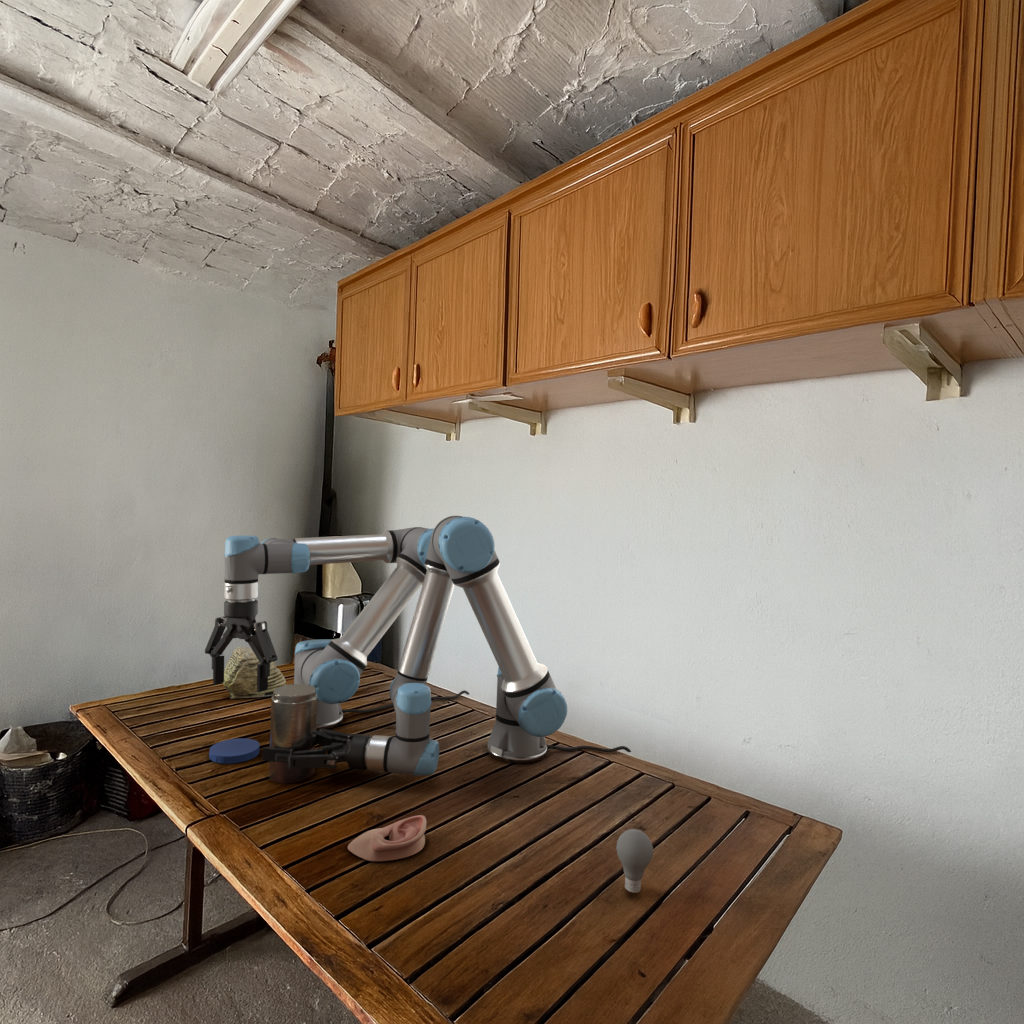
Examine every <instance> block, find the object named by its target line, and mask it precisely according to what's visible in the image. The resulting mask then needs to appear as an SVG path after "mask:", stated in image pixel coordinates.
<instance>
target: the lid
mask: <svg viewBox="0 0 1024 1024" xmlns="http://www.w3.org/2000/svg"><path fill="white" fill-rule="evenodd" d="M260 753H261V745H260V742H259V741H258V740H256V739H252V738H243V737H242V738H240V737H239V738H229V739H224V740H222V741H219V742H216V743H214V744H213V745H212V746H210V747H209V752H208V758H209V760H211V761H212V762H214V763H217V764H224V765H225V764H226V765H227V764H228V765H229V764H238V763H244V762H247V761H249V760H253V759H255V758H256V757H257V756H258V755H259V754H260Z"/></svg>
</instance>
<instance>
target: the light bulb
mask: <svg viewBox="0 0 1024 1024" xmlns="http://www.w3.org/2000/svg"><path fill="white" fill-rule="evenodd" d="M615 849H616V854H617V857H618V859H619V861H620V863H621V865H622V867H623V873H624V874H623V875H624V876H625V878H624V888H625V890H627V891H628V892H630V893H634V894H635V893H639V892H640V891H641V889H642V887H641V886H642V879H643V877H644V875H645V871H646V868H647V867H648V866H649V864H650V863H651V861H652V859H653V855H654V847H653V843H652V841H651V838H649V836H648V835H647V834H646V833H645V832H643V831H642V830H641V829H636V828H629V829H627V830H625V831H623V832H622V833H621V834H620V835H619V837H618V839H617V841H616V847H615Z"/></svg>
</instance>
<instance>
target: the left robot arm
mask: <svg viewBox="0 0 1024 1024" xmlns="http://www.w3.org/2000/svg"><path fill="white" fill-rule="evenodd" d="M433 530H434V528H426V527H422V526H414V527H407V528H401V529H400V528H399V529H392V530H391V529H390V530H383V532H382V533H380V534H359V535H356V534H355V535H340V536H339V535H337V536H336V535H335V536H317V537H295V538H277V537H272V538H271V537H270V538H267V539H263V540H262V541H261V542H260V540H259V537H258V536H257V535H245V534H244V535H241V534H240V535H230V536H228V537H227V538H226V539H225V543H224V544H225V545H224V547H225V548H224V554H223V557H224V558H223V559H224V568H223V569H224V583H223V584H224V589H223V590H224V591H223V593H224V597H223V598H224V599H225V601H224V602H223V616H219V617H215V619H214V627H213V629H212V631H211V635H210V637H209V639H208V642H207V643H206V646H205V648H204V653H205V654H206V655H209V656H210V657H211V670H212V685H213V686H217V685H219V684H223V682H224V672H225V655H223V654H224V652H225V650H226V648H227V647H228V646H229V645H230V643H231V642H232V640H233V639H239V640H244V642H246V643H248V645H249V648H250V649H252V650H253V652H254V654H255V655H256V657H257V659H258V660H259V662H260V664H258V665H257V692H262V691H264V690H267V689H268V677H269V676H270V663H271V662H274V663H275V662H277V661H278V655H277V652H276V649H275V647H274V644H273V641H272V639H271V635H270V633H269V631H268V622H267V621H266V620H263V621H259V622H258V621H257V620H256V618H257V616H258V613H259V601H258V600H257V598H259V575H271V574H272V575H275V574H293V575H295V574H298V573H299V574H300V573H306V572H307V571H309V568H310V566H314V565H315V566H316V565H328V564H329V565H331V564H346V563H361V562H362V563H363V562H375V561H383V563H385V564H396V567H395V568H394V569H393V571H392V572H391V573H390V575H389V576H388V577H387V579H386V580H384V582H383V583H382V584H381V586H380V587H379V589H378V590H376V592H375V593H374V595H373V596H372V597H371V599H370V600H369V601H368V603H367V604H366V605H365V606H364V607H363V609H362V610H361V611H360V613H359V614H358V615H357V617H356V618H355V619H354V620H353V621H352V623H351V624H350V625H349V627H348V628H347V629H346V630H345V632H344V633H343V634H342V635H341V636H340V637H339V638H333V639H331V638H329V639H328V638H326V639H325V638H324V639H307V640H302V641H299V642H297V644H295V650H294V672H293V673H294V674H293V684H306V685H311V686H313V687H315V688H316V694H317V720H316V731H319V730H320V729H327V730H332V729H335V728H337V727H339V726H340V725H342V723H343V722H344V713H355V714H356V713H358V714H365V713H372V712H377V711H381V710H384V709H388V708H392V707H394V705H393V702H392V703H389V704H385V705H381V706H377V707H373V708H366V709H357V708H354V709H353V708H352V709H350V708H349V709H347V708H344V709H343V708H342V706H341V704H342V703H344V702H346V701H348V700H349V699H351V698H352V697H353V696H354V695H356V693H357V691H358V690H359V687H360V682H361V675H362V674H363V672H364V671H365V670H366V668H367V667H368V661H367V660H368V656H369V655H370V653H371V652H372V651H373V650H374V648H375V647H376V646H377V644H378V643H379V642H380V641H381V639H382V638H383V636H384V635H385V634H386V633H387V632H388V630H389V629H390V627H391V626H392V625H393V623H395V621H396V620H397V618H398V617H399V616H400V614H401V613H402V612H403V610H404V609H405V608H406V606H407V605H409V603H410V601H411V600H412V599H413V597H414V596H415V594H416V593H417V592H418V591H419V590H420V588H422V585H423V582H424V579H425V575H426V572H427V569H426V567H425V565H424V564H425V560H426V557H427V552H428V548H429V544H430V540H431V535H432V533H433ZM264 658H265V659H264ZM463 694H466V695H467V696H468V695H470V692H469V691H467V690H461V691H460V692H458V693H457V694H455V695H451V696H431V701H438V700H439V701H442V700H443V701H444V700H445V701H447V700H448V701H449V700H454V699H457V698H459V697H461V696H462V695H463Z"/></svg>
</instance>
